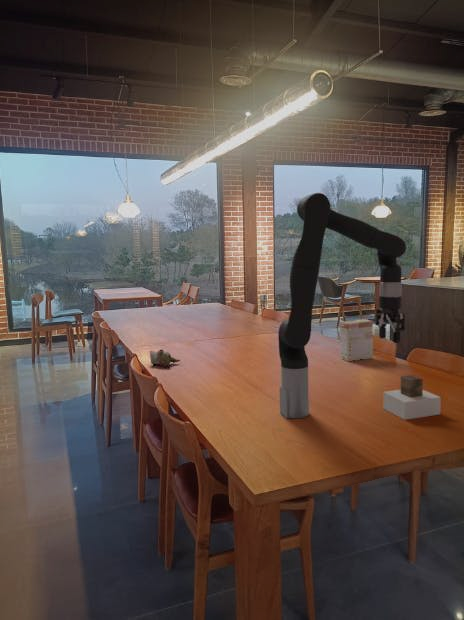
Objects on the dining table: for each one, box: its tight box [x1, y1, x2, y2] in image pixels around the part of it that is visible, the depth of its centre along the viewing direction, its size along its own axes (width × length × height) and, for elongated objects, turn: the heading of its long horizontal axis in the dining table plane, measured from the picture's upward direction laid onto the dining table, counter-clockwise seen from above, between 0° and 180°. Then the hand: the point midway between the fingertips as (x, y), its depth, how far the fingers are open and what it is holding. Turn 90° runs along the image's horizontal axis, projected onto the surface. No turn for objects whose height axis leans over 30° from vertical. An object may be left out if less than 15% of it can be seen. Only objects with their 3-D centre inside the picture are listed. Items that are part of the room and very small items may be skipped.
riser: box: [382, 389, 442, 421], centre depth 161 cm, size 14×12×6 cm
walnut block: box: [400, 374, 424, 397], centre depth 160 cm, size 5×5×6 cm
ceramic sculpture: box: [149, 349, 181, 367], centre depth 238 cm, size 11×9×15 cm
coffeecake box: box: [339, 318, 374, 362], centre depth 237 cm, size 15×7×20 cm, turn 108°
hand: (389, 340), depth 165 cm, fingers open, 8 cm apart
